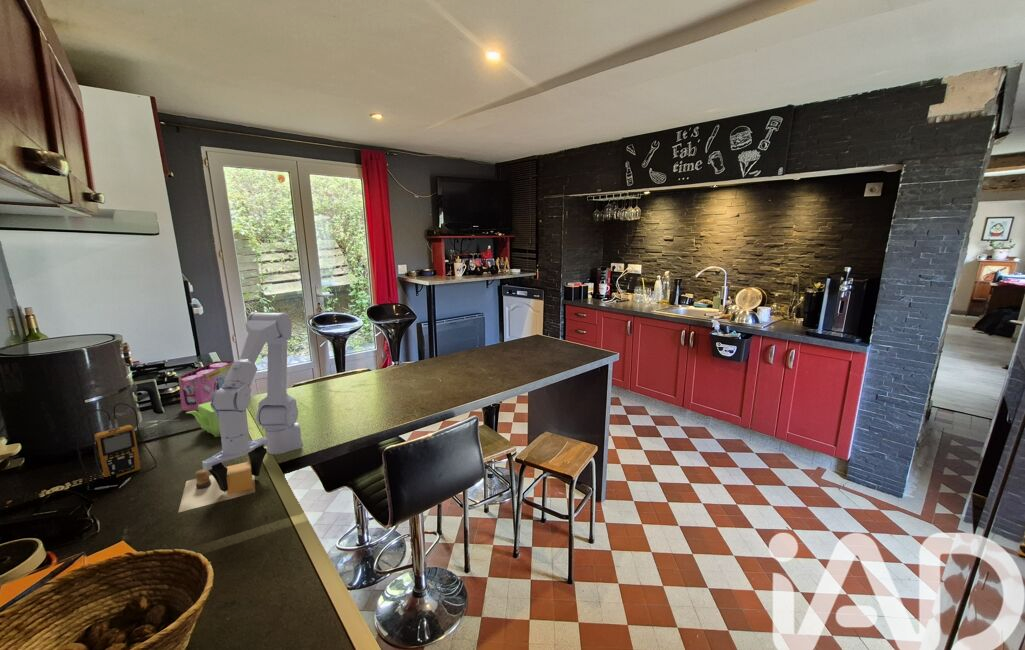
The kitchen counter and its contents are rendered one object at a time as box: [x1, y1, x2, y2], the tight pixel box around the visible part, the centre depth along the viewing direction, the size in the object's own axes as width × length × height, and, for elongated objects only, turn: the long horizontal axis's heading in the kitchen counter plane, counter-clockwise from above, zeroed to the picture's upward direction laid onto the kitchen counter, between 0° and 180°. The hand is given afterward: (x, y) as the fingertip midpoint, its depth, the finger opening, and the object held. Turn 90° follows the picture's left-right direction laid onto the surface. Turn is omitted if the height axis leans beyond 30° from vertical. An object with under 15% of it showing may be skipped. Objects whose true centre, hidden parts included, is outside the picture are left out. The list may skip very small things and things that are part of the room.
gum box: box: [178, 360, 235, 412], centre depth 160 cm, size 24×8×14 cm, turn 5°
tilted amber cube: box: [226, 460, 253, 494], centre depth 101 cm, size 5×5×5 cm
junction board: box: [177, 468, 256, 514], centre depth 101 cm, size 15×15×6 cm
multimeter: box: [76, 402, 158, 491], centre depth 105 cm, size 15×10×20 cm
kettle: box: [185, 402, 221, 438], centre depth 134 cm, size 15×14×11 cm
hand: (240, 482), depth 101 cm, fingers open, 7 cm apart
